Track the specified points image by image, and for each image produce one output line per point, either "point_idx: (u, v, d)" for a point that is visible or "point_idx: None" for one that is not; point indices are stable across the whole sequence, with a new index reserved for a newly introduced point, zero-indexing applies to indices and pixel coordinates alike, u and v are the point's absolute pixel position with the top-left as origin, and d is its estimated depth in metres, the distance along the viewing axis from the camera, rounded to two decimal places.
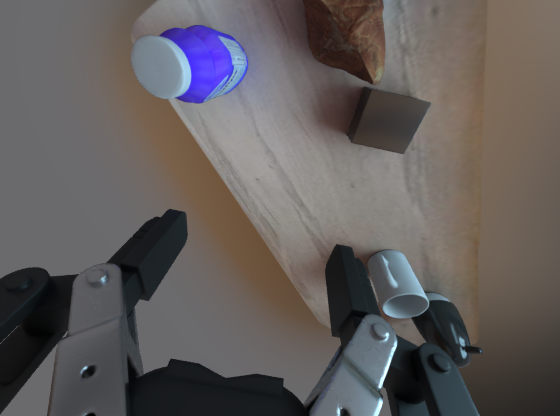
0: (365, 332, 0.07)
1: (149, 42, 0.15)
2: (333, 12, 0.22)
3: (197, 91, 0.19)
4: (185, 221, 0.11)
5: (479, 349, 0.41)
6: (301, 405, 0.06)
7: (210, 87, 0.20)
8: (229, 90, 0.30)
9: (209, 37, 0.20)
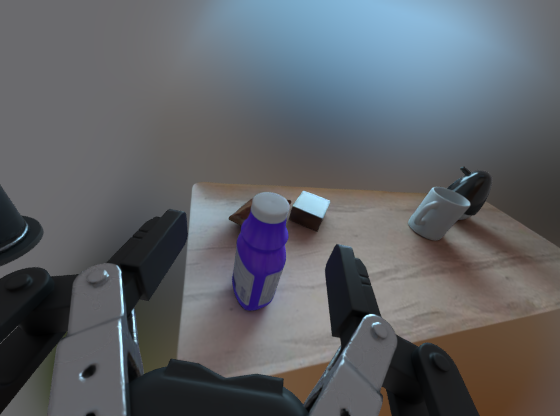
0: (365, 332, 0.07)
1: (257, 198, 0.23)
2: None
3: None
4: (185, 221, 0.11)
5: (461, 168, 0.61)
6: (301, 405, 0.06)
7: None
8: None
9: None
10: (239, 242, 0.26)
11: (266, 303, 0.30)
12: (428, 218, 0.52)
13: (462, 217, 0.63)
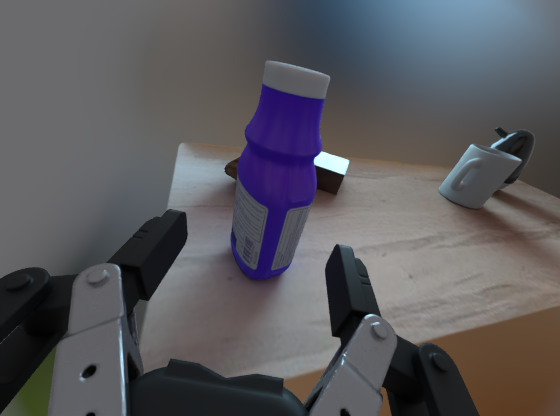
0: (365, 332, 0.07)
1: (273, 61, 0.13)
2: None
3: None
4: (185, 221, 0.11)
5: (496, 128, 0.52)
6: (301, 405, 0.06)
7: None
8: None
9: None
10: (242, 160, 0.16)
11: (282, 267, 0.20)
12: (467, 181, 0.43)
13: None
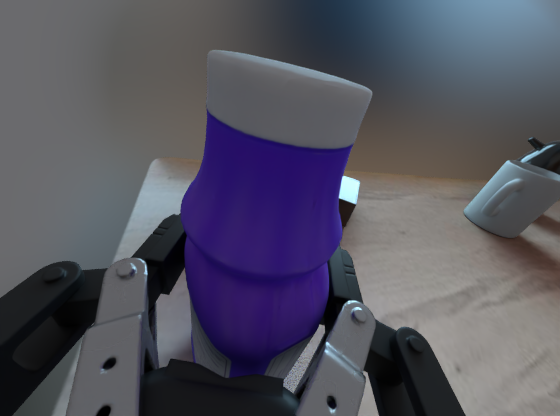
0: (346, 318, 0.07)
1: None
2: None
3: None
4: None
5: (530, 139, 0.45)
6: (289, 399, 0.06)
7: None
8: None
9: None
10: (186, 244, 0.08)
11: None
12: (504, 206, 0.35)
13: None
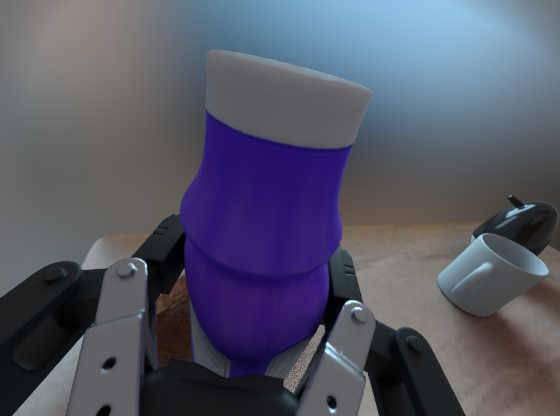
0: (346, 318, 0.07)
1: None
2: (167, 306, 0.20)
3: None
4: None
5: (509, 197, 0.42)
6: (289, 399, 0.06)
7: None
8: None
9: None
10: (185, 245, 0.08)
11: None
12: (475, 287, 0.33)
13: None
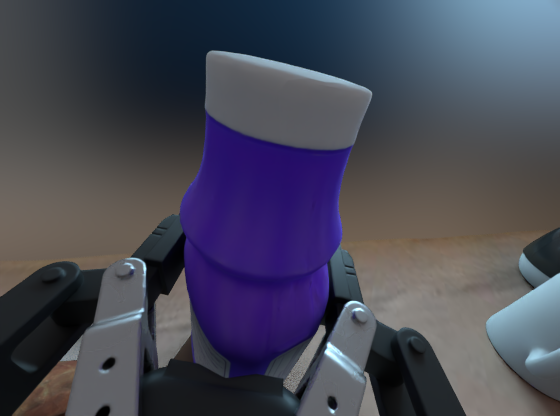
0: (347, 319, 0.07)
1: None
2: None
3: None
4: None
5: None
6: (290, 399, 0.06)
7: None
8: None
9: None
10: (185, 245, 0.08)
11: None
12: None
13: None
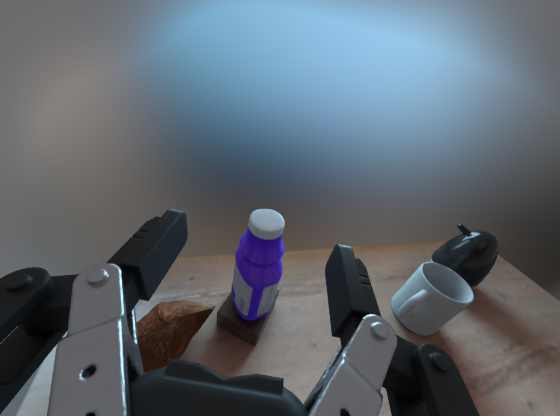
0: (365, 332, 0.07)
1: (254, 215, 0.24)
2: (140, 333, 0.26)
3: None
4: (185, 221, 0.11)
5: (458, 225, 0.47)
6: (301, 405, 0.06)
7: None
8: None
9: None
10: (238, 256, 0.27)
11: (264, 313, 0.31)
12: (416, 310, 0.38)
13: None
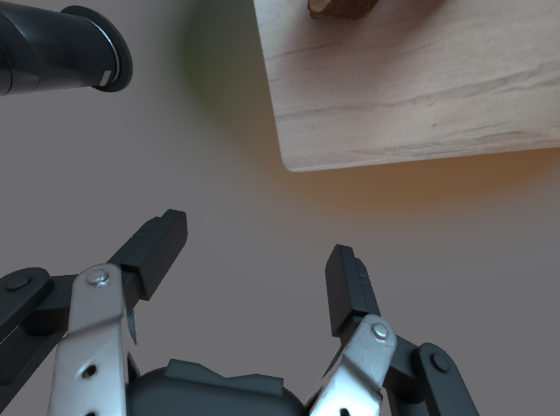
0: (365, 332, 0.07)
1: None
2: None
3: None
4: (185, 221, 0.11)
5: None
6: (301, 405, 0.06)
7: None
8: None
9: None
10: None
11: None
12: None
13: None
